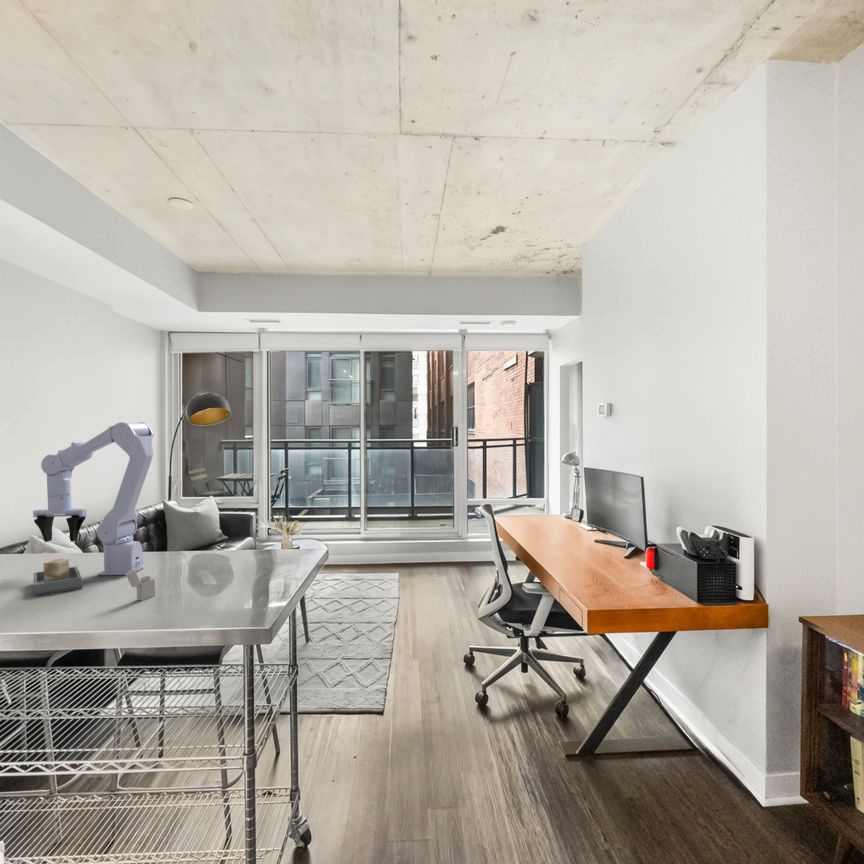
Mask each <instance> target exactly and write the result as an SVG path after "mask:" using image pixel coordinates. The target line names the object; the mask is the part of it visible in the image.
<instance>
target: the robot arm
mask: <svg viewBox="0 0 864 864" xmlns="http://www.w3.org/2000/svg"><path fill="white" fill-rule="evenodd" d="M154 435H155V434H154V432H153V430H152V428H151V426H150V425H149V424H148V423H146V422H143V421H138V422H125V421H124V422H116V423H115V424H114V425H110V426H108V428H107V429H105V430H103V431H102V432H101V433H99V434H97V435H95V436H94V437H92V438H91V439H89V440H88V441H86V442H84V441H73V442H71V443H70V446H68V447H67V448H64V449H59V450H58V451H57V453H56V454H47V455H46V456H44V457H43V458H42V460H41V465H40V466H41V471H43V473H45V474H46V490H47V491H46V492H47V493H46V495H47V508H46V509H35V510H33V511H32V518H35V519H33V523H34V524H35V525H36V526H37V527H38V529H39V531H40V533H41V535H42V537H43V541H44V542H45V543H47V542H51V541H53V524H54V518H55V517H66V518H65V520H66V523H67V525H68V531H69V540H70V542H75V541H77V540H78V537H79V534H80V530H81V527H82V525H83V523H84V521H85V520H86V517H87V515H88V514H87V508H72V487H71V486H72V483H71V478H72V476H73V473H72V472H73V471H74V470H75V467H78V466H79V465H81V464H82V463H84V462H86V461H88V460H91V458H92V456H93V453H94V452H96V451H99V450H100V449H102V448H105V447H107V446H108V445H111V444H113V443H115V444H116V445H117V446H118V447H120V449H122V451H124V452H125V453H126V454H127V455H128V457H129V460H128V463H127V465H126V469H125V472H124V475H123V477H122V481H121V483H120V486H119V489H118V492H117V496H116V498H115V501H114V503H113V507H112V509H110V510H109V511H108V513H106V514H105V516H104V517H103V520H102V521H101V523H99V524H98V526H97V529H96V535H97V538H98V539H99V541H100V542H101V545H103V564H104V565H103V570H102V571H100V572H98V573H97V576H126V575H125V574H126V573H127V572H128V571H129V570H134V571H135V572H136V573H137V572H139V571H140V570H142V569H144V568H145V565H144V561H143V559H144V558H143V546H142V543H141V542H140V541H136V540H135V541H134V540H133V539H134V535H135V534H136V532H137V531H138V518H139V515H138V514H137V513H136V512H135V509H136V506H137V503H138V501H139V498H140V495H141V492H142V489H143V486H144V483H145V480H146V478H147V475H148V472H149V469H150V466H151V462H152V459H153V457H154V451H153V438H154Z"/></svg>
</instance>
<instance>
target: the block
mask: <svg viewBox="0 0 864 864" xmlns="http://www.w3.org/2000/svg"><path fill="white" fill-rule="evenodd" d="M69 562H70V559H69V558H59V559H58V558H54V559H52V560H51V559H50V560H48V561H45V562H43V571H44V583H46V582H52V581H58V580H65V579H69V567H70V563H69Z"/></svg>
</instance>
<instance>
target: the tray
mask: <svg viewBox="0 0 864 864" xmlns="http://www.w3.org/2000/svg"><path fill="white" fill-rule="evenodd" d="M82 587H83V586H82V576H81V573H80V571H79V568H78V566H71V567H70V566H69V579H65V580H58V581H52V582H46V583H44V570H42V571H37V572H33V595H34V597H35V596H37V597H40V596H39V595H42V596H46V595H45V594H48V595H52V594H51V593H54V594H58V593H57V592H60V593H66V592H71V591H70V590H72V591H76V589H78V590H81V589H80V588H82ZM65 591H66V592H65ZM35 598H36V597H35Z"/></svg>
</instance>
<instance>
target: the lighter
mask: <svg viewBox="0 0 864 864" xmlns="http://www.w3.org/2000/svg"><path fill="white" fill-rule="evenodd" d="M124 576H126V578H127V580H128V582H129V585H130V586H131V587H133V588H136V601H139V600H143V601H145V600H148V599H150V597H151V598H153V597H155V596H156V578H152V577H151V575H146V576H142V577H140V578H139V576H138V574H137V571H136V572H135V571H134V570H129V571H128V572H127V573H126V574H125V575H124ZM147 598H148V599H147ZM144 599H145V600H144Z"/></svg>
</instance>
